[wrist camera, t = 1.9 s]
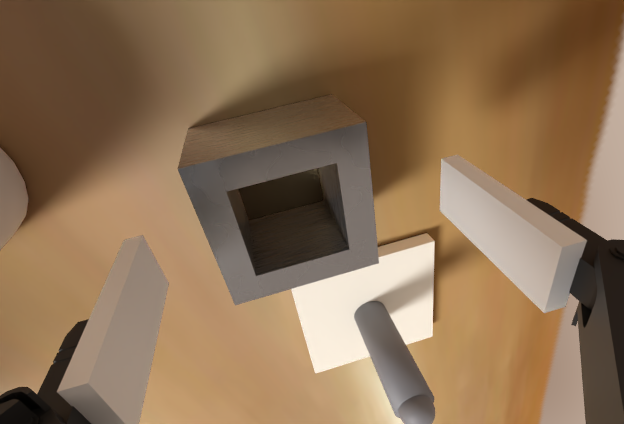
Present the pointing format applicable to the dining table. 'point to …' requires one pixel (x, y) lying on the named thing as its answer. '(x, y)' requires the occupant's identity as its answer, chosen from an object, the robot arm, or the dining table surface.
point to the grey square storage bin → (291, 223)
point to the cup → (11, 198)
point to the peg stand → (377, 321)
